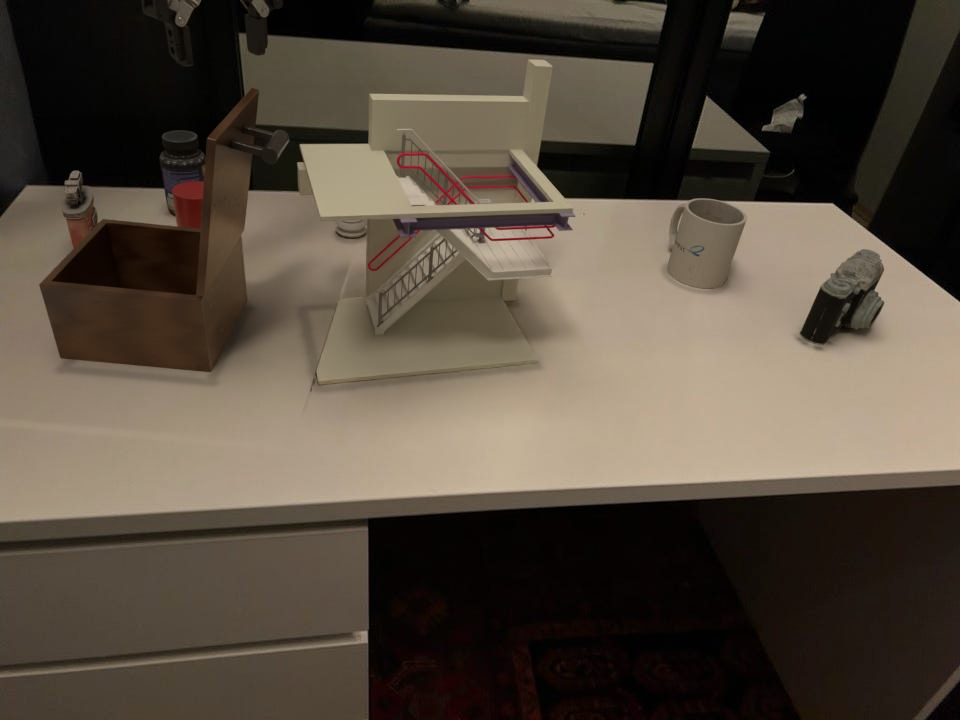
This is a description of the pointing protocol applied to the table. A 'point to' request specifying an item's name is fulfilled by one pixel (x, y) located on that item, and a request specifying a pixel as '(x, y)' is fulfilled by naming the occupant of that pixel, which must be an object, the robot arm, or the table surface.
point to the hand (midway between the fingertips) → (222, 58)
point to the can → (188, 203)
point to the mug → (704, 241)
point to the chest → (142, 298)
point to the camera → (846, 298)
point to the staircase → (438, 230)
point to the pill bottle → (180, 162)
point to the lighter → (78, 208)
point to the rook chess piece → (351, 228)
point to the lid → (230, 183)
